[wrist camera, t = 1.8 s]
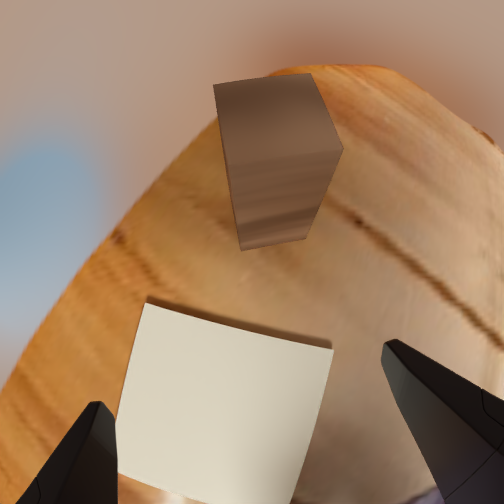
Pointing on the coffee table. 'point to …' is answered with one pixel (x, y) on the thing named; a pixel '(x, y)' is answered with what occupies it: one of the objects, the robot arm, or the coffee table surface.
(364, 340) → the coffee table surface
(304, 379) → the board
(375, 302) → the coffee table surface
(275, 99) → the walnut block
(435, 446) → the robot arm
